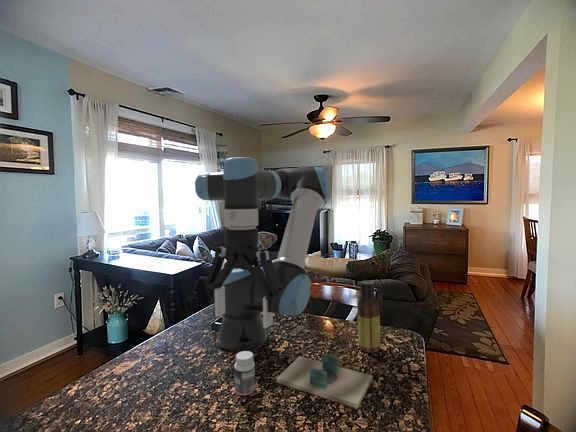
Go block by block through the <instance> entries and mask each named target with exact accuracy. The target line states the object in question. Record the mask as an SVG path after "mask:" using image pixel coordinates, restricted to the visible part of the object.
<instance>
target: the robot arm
mask: <svg viewBox="0 0 576 432" xmlns="http://www.w3.org/2000/svg"><path fill="white" fill-rule="evenodd" d="M331 185H332V184H331V178H330V175H329V171H328V169H327V168H326V167H323V166H322V167H321V166H314V167H312V166H311V167H292V168H291V167H288V168H287V167H286V168H281V169H277V170H261V169H259V167H258V161H257V159H255V158H253V157H243V156H242V157H240V156H239V157H229V158H226V159H225V160H224V162H223V170H222V171H218V172H217V171H208V172H201V173H200V174H198V175H197V177H196V178H195V183H194V188H195V193H196V196H198V198H199V199H200V200H202V201H210V202H212V201H213V202H215V201H223V202H224V205H223V210H224V211H223V213H224V226H225V227H226V228H225V230H224V244H225V245H223V246H219V247H216V248H215V249H214V257H213V261H212V263H211V266H210V269H209V272H208V273H207V277H206V279H205V284H206V285H207V286H208V285H209V286H210V287H211V288H212V300H213V301H214V312H215V313H214V314H215V315H214V316H215V317H216V318H219V317H221V316H222V319H221V322H220V326H219V330H218V332H217V344H218V346H219V347H220V348H221V349H224V350H227V351H229V352H230V351H231V352H242V351H253V350H255V349H258V348H260V347H262V346H263V345H265V343H266V342H267V340H268V338H267V337H268V333H267V330H266V329H267V328H269V327H270V326H272V325H273V324H274V315H273V314H277V315H282V316H297V315H300V314H302V312H303V311H305V309H306V307H307V305H308V302H309V299H310V296H311V288H312V282H311V279H310V277H309V276H308V271H307V269H306V268H305V262H306V258H307V254H308V250H309V246H310V241H311V237H312V233H313V228H314V224H315V220H316V216H317V212H318V209H319V208H321V207H322V206H323V205H324V201H327V200H330V198H331V195H332V194H331V193H332V192H331V191H332V187H331ZM274 199H282V200H290V201H291V202H292V206H291V209H290V213H289V217H288V220H287V224H286V226H285V230H284V232H283V238H282V241H281V244H280V248H279V250H278V254H277V258H276V260H274V261H272V255H271V251H270V250H269V249H267V250H264V251H259V249H258V245H259V243H260V242H259V229H258V228H257V226H259V201H264V202H266V201H267V202H268V201H270V200H274ZM226 258H227V260H226ZM225 260H226V262H225ZM224 262H225V263H224ZM222 267H223V268H222Z"/></svg>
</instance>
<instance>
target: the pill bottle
mask: <svg viewBox="0 0 576 432" xmlns="http://www.w3.org/2000/svg"><path fill="white" fill-rule="evenodd" d="M233 374H234V376H233V377H234V378H233V379H234V380H233V381H234V392H235V394H237V395H239V396H248V395H251V394H253V393H254V391H255V390H256V375H255V374H256V364H255V361H254V353H253V352H251V351H250V350H248V351H238V353H237V354H236V355H235V363H234V365H233Z"/></svg>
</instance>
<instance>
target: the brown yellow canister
mask: <svg viewBox="0 0 576 432" xmlns="http://www.w3.org/2000/svg"><path fill="white" fill-rule="evenodd" d="M359 286H360V299H358V302H357V336H358V338H357V339H358V341H357V342H358V347H359V349H360V350H361V351H362V352H364V353H365V352H366V353H370V354H373V353H378V352H379V351H380V349H381V320H380V308H379V307H380V305H379V303H378V301H377V298H376V297H375V296H376V295H375V287H376V283H375V281H373V280H361V281H360V283H359Z"/></svg>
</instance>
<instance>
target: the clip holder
mask: <svg viewBox="0 0 576 432" xmlns="http://www.w3.org/2000/svg"><path fill="white" fill-rule="evenodd" d="M321 357H322V361H319V360H316V359H312V358H309V357H305V356H301V355H299V356H298V357H297V358H296V359H295V360H294V361H293V362H291V364H289V366H288V367H286V369H284V370H283V371H282V372H281V374H279V375H278V376H277V377H276V383H278V384H281V385H284V386H287V387H290V388H293V389H296V390H299V391H303V392H306V393H309V394H311V395H315V396H318V397H320V398H324V399H326V400H330V401H333V402H336V403H339V404H342V405H345V406H348V407H352V408H354V409H357V410H358V409H359V407H360V405H361V403H362V401H363V398H364V397H365V395H366V393H367V391H368V389H369V387H370V385H371V384H372V381H373V375H370V374H367V373H363V372H361V371H356V370H352V369H348V368H347V367H341V366H340V358H339V356H336V355H332V354H328V353H325V352H324V353H323V354H322V356H321Z"/></svg>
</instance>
